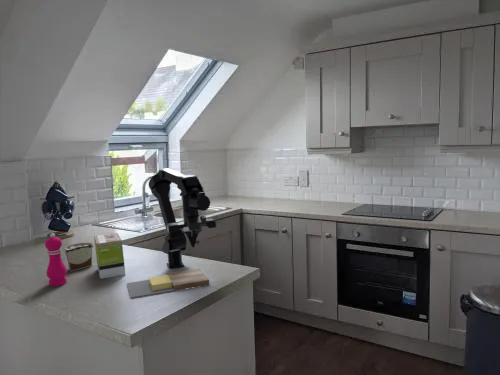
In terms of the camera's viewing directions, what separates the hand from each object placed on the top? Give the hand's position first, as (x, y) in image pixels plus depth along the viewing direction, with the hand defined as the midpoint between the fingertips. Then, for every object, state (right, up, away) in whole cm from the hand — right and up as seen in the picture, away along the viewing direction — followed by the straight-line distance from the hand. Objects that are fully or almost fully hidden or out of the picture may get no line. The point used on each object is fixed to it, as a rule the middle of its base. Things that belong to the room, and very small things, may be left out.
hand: (193, 247), depth 171 cm
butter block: (-11, -12, -11) cm, 19 cm away
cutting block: (-1, -12, -7) cm, 14 cm away
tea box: (-35, -12, +10) cm, 39 cm away
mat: (-14, -13, -12) cm, 23 cm away
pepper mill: (-52, -14, -1) cm, 54 cm away
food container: (-52, -12, +19) cm, 57 cm away
